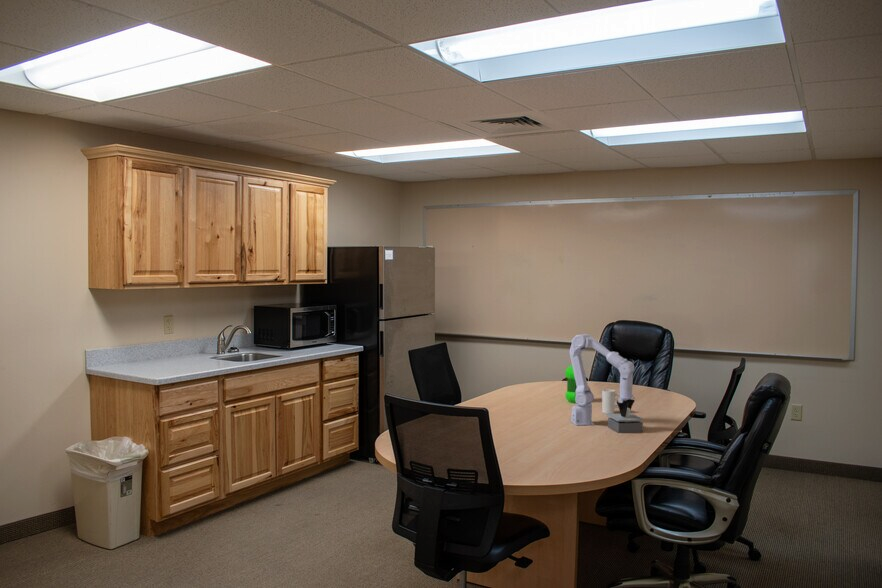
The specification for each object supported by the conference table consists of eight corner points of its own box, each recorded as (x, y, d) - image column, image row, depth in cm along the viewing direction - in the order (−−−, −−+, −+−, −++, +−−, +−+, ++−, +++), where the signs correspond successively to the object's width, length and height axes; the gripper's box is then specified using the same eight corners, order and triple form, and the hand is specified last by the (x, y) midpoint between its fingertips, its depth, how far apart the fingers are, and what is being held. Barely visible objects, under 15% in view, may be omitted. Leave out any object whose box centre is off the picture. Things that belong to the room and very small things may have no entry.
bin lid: (618, 421, 302) (618, 411, 302) (606, 415, 315) (606, 405, 315) (644, 421, 304) (644, 411, 304) (631, 415, 317) (632, 405, 317)
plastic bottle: (581, 400, 379) (582, 358, 378) (583, 404, 368) (584, 360, 367) (564, 400, 380) (565, 357, 379) (565, 403, 369) (566, 359, 368)
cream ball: (625, 428, 311) (626, 421, 311) (623, 426, 314) (623, 419, 314) (632, 427, 312) (632, 421, 311) (629, 426, 315) (629, 419, 315)
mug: (601, 413, 345) (602, 391, 344) (601, 411, 351) (601, 388, 351) (621, 414, 343) (622, 392, 342) (620, 412, 349) (621, 389, 349)
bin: (618, 433, 303) (618, 423, 303) (607, 426, 315) (608, 417, 315) (642, 432, 305) (642, 422, 305) (631, 426, 317) (631, 417, 317)
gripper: (629, 390, 301) (628, 419, 302) (639, 386, 313) (638, 414, 313) (614, 388, 305) (613, 417, 306) (625, 384, 317) (624, 412, 317)
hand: (625, 415), depth 310 cm, fingers closed on bin lid, 5 cm apart
